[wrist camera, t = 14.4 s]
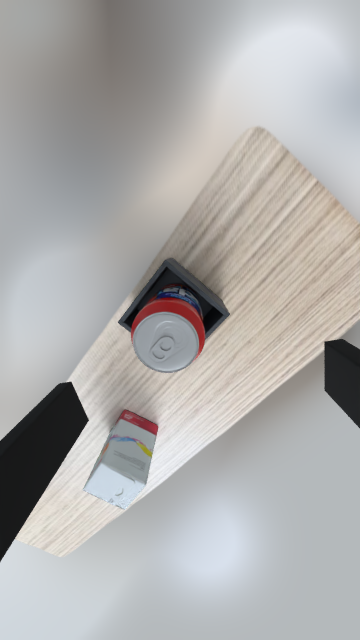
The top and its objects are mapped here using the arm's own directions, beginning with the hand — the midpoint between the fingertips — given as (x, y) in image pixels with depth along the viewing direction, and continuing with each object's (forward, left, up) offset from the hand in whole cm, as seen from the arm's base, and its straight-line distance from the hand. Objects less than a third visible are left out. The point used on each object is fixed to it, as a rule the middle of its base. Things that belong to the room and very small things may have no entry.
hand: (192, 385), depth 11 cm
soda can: (+3, +1, -24) cm, 24 cm away
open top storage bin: (+3, +1, -25) cm, 25 cm away
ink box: (+19, +27, -25) cm, 41 cm away
